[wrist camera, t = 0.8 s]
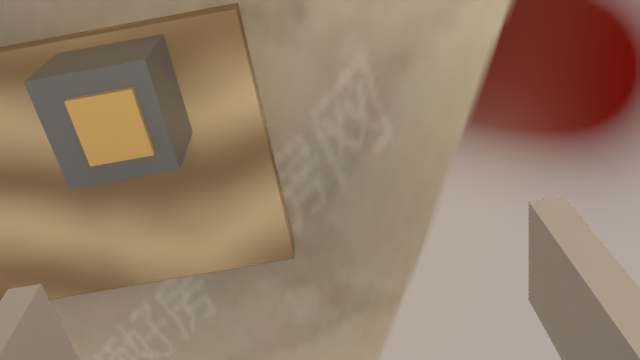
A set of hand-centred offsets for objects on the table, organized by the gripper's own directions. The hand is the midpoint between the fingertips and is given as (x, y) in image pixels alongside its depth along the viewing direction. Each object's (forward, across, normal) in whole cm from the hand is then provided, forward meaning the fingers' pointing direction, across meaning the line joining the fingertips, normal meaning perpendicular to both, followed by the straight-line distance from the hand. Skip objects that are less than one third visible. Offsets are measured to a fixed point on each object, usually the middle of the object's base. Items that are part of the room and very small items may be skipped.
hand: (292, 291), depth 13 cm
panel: (+18, -14, -4) cm, 23 cm away
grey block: (+17, -8, 0) cm, 19 cm away
